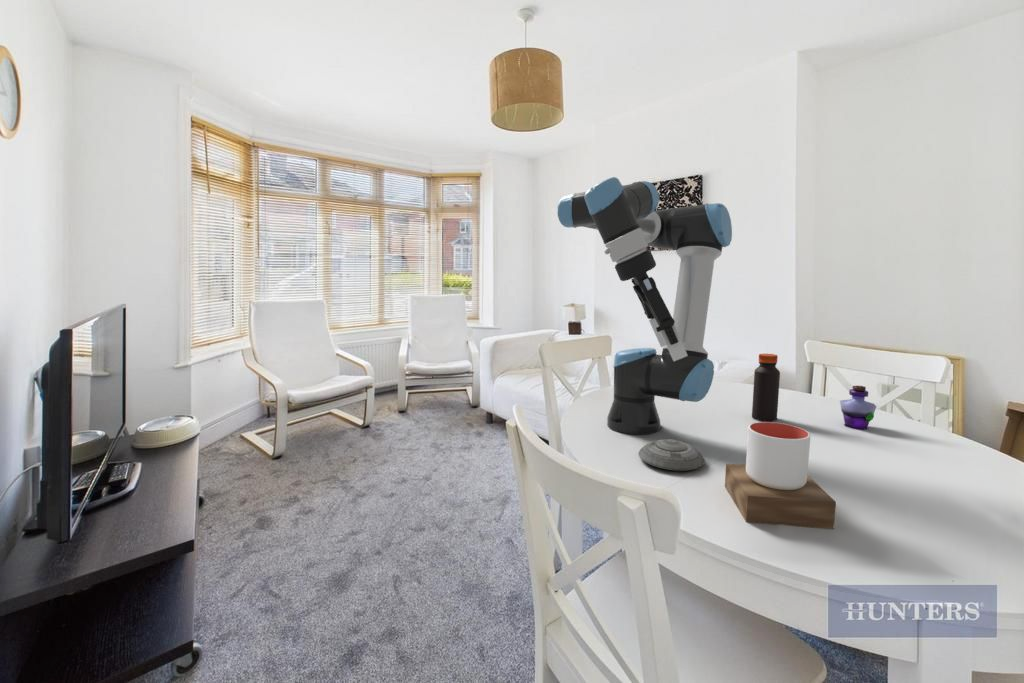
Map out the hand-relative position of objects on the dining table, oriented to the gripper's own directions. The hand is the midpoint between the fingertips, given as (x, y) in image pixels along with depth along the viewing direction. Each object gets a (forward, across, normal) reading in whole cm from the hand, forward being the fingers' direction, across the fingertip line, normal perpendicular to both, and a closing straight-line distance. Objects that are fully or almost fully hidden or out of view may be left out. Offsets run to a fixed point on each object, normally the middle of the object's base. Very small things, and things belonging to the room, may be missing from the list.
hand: (673, 351), depth 91 cm
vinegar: (+44, -47, +21) cm, 68 cm away
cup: (+29, +8, +6) cm, 31 cm away
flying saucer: (+28, -11, -10) cm, 32 cm away
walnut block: (+33, +9, +4) cm, 35 cm away
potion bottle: (+53, -42, +42) cm, 80 cm away
